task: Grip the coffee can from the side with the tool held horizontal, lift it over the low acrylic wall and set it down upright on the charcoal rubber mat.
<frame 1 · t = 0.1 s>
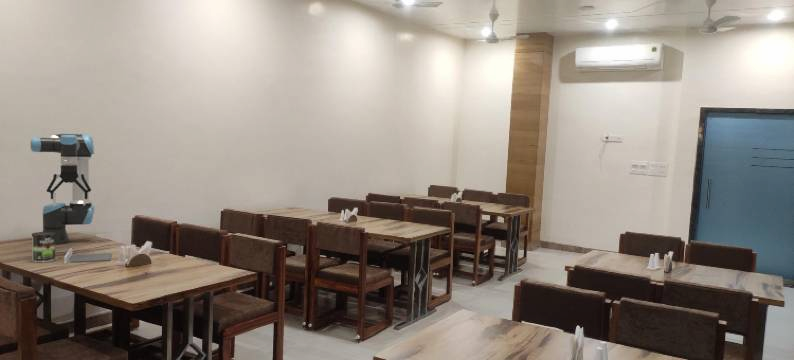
hand: (69, 205, 304), 28 cm above the table, tool pointing down, fingers open, 13 cm apart
mat: (92, 258, 307), on the table
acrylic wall: (68, 259, 303), on the table
coffee can: (43, 260, 298), on the table
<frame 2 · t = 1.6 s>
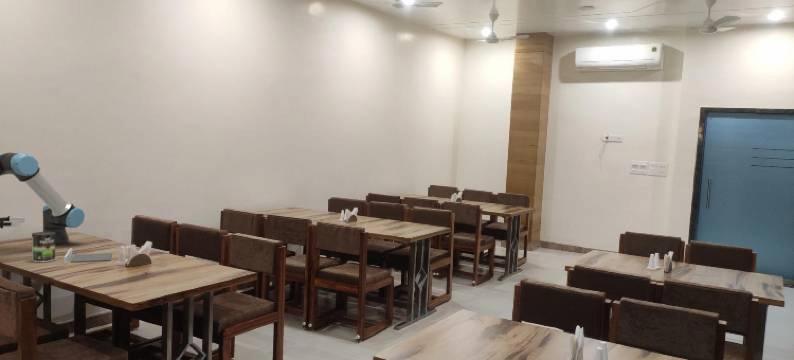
hand: (22, 221, 293), 20 cm above the table, tool horizontal, fingers open, 13 cm apart
nothing on the table moved.
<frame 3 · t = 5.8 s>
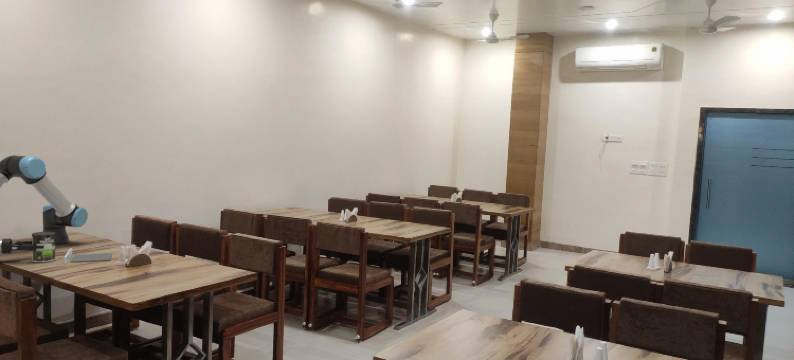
hand: (53, 244, 300), 8 cm above the table, tool horizontal, fingers closed on coffee can, 10 cm apart
coffee can: (43, 260, 298), on the table, touching gripper
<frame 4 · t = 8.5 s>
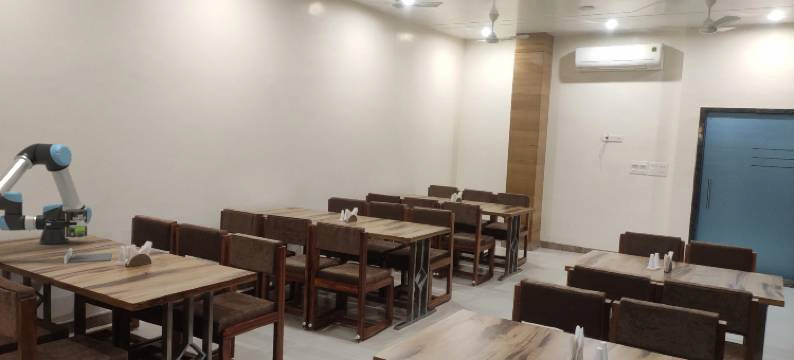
hand: (85, 221, 303), 20 cm above the table, tool horizontal, fingers closed on coffee can, 10 cm apart
coffee can: (76, 237, 302), point 12 cm above the table, touching gripper
when the fingers open (10 cm above the table, at t = 11.4 s): coffee can drops 1 cm, resting on mat.
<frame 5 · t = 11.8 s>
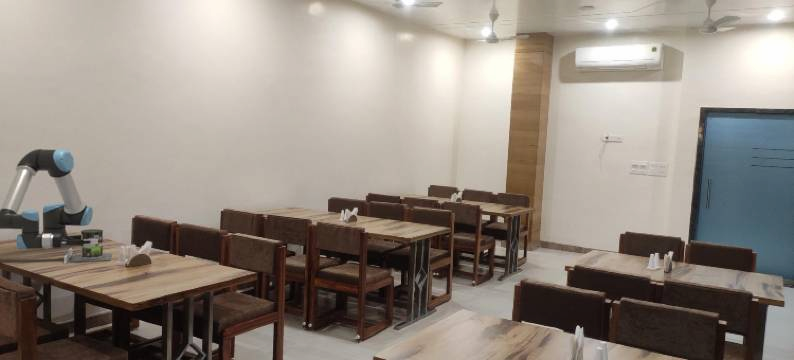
hand: (99, 239, 308), 10 cm above the table, tool horizontal, fingers open, 13 cm apart
coffee can: (91, 257, 307), resting on mat
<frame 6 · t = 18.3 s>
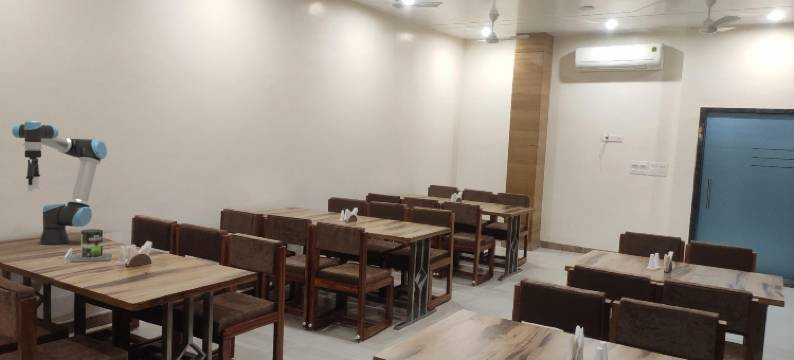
hand: (33, 190, 309), 35 cm above the table, tool pointing down, fingers open, 13 cm apart
nothing on the table moved.
at the end: coffee can inside the target area on the mat (0.1 cm from its centre), point 0.4 cm above the mat's base; coffee can tilted 0°; the gripper is holding nothing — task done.
